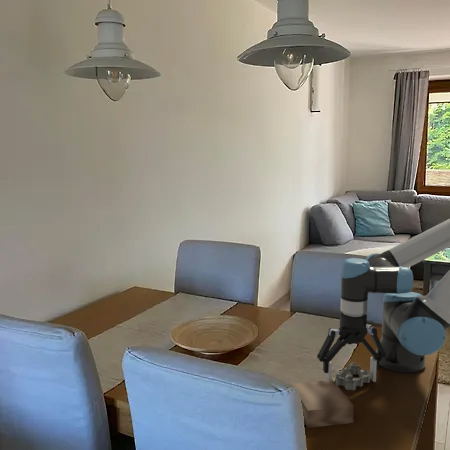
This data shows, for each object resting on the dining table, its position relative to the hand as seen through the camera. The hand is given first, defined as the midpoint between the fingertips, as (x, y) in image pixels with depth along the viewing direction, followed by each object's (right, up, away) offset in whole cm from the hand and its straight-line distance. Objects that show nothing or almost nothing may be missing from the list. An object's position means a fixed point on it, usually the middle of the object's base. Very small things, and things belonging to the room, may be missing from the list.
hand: (350, 381), depth 149 cm
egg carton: (+1, -1, 0) cm, 1 cm away
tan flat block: (-12, -3, -15) cm, 20 cm away
